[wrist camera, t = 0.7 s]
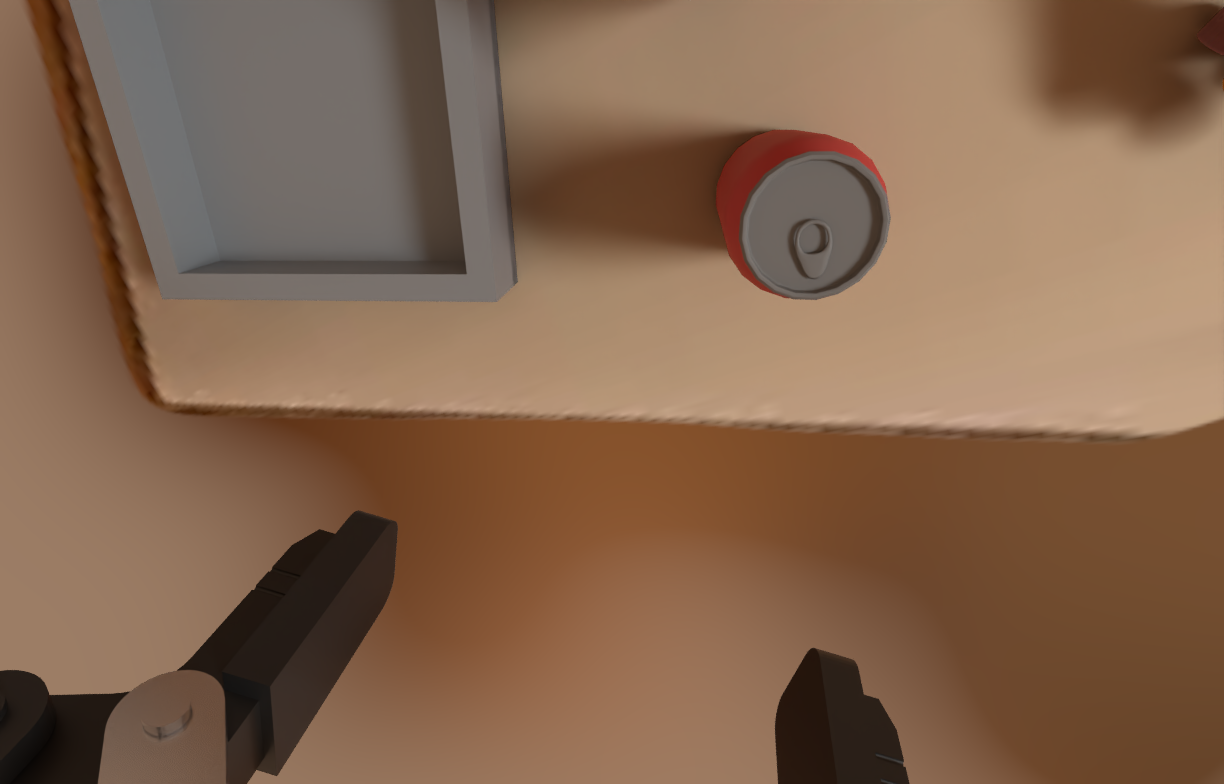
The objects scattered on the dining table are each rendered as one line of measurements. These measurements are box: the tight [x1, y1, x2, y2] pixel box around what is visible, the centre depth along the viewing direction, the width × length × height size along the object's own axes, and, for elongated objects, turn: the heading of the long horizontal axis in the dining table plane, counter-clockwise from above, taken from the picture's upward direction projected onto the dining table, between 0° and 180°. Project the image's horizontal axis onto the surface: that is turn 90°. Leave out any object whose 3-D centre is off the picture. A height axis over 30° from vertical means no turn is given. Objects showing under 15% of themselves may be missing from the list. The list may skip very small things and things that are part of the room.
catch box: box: [69, 0, 518, 302], centre depth 34 cm, size 20×20×4 cm
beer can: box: [716, 130, 890, 300], centre depth 29 cm, size 7×7×12 cm
